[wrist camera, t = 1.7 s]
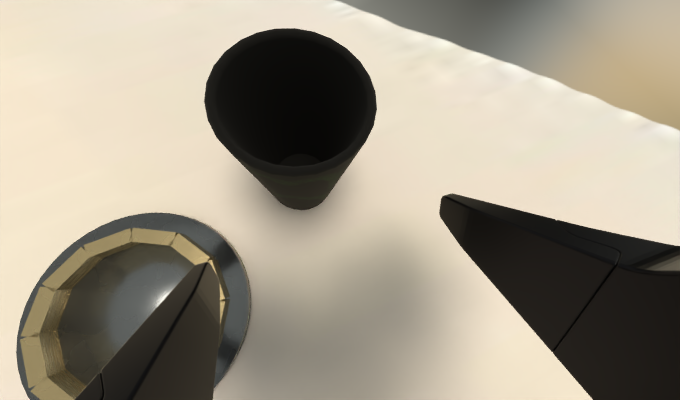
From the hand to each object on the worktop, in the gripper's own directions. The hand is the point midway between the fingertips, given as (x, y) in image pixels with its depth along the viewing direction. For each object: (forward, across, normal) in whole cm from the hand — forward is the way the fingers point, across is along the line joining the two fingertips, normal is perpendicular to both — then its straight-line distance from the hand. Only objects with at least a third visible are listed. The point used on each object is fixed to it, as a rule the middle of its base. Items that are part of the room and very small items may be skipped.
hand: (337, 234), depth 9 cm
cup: (+14, 0, +4) cm, 14 cm away
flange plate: (+8, +14, +9) cm, 19 cm away
